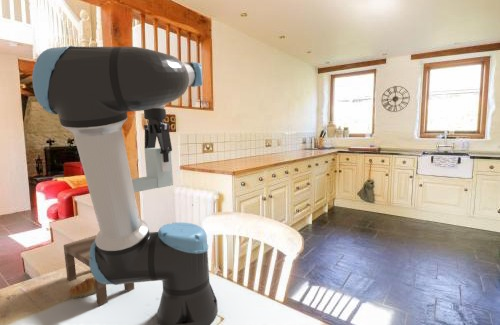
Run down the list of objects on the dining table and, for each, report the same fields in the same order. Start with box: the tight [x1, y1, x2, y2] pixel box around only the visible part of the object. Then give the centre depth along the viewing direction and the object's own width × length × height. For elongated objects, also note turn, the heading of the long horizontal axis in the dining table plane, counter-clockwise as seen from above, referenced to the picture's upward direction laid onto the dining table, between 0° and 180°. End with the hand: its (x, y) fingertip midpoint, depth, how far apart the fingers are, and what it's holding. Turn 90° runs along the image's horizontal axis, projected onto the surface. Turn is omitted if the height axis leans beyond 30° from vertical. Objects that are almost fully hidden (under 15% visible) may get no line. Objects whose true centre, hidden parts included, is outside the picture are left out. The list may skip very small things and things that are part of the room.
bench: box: [63, 234, 135, 307], centre depth 85 cm, size 24×10×12 cm, turn 52°
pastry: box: [68, 276, 96, 299], centre depth 82 cm, size 9×7×4 cm
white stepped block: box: [132, 146, 174, 193], centre depth 94 cm, size 23×8×14 cm, turn 138°
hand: (159, 170), depth 101 cm, fingers closed on white stepped block, 8 cm apart
